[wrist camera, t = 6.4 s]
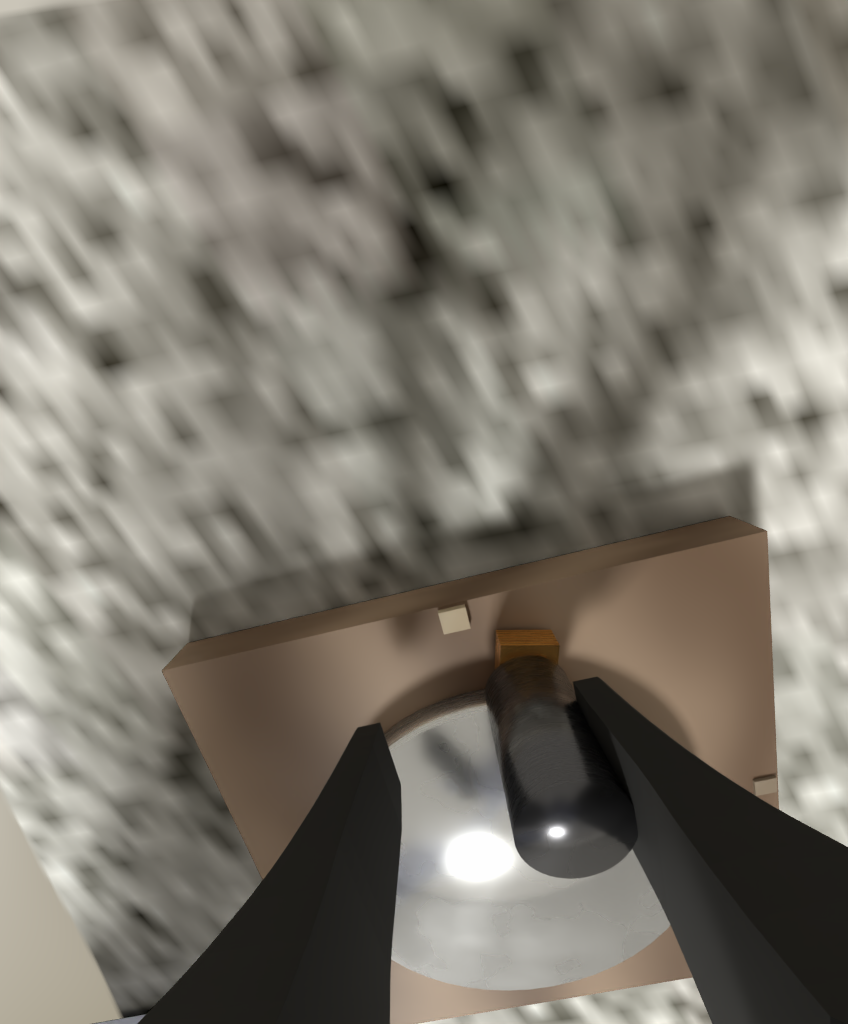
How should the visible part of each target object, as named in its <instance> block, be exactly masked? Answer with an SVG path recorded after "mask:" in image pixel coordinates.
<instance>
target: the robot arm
mask: <svg viewBox="0 0 848 1024" xmlns="http://www.w3.org/2000/svg"><path fill="white" fill-rule="evenodd" d="M573 685H574V690H575V696H576V700H577V702H578V704H579V706H580V708H581V710H582V712H583V714H584V716H585V718H586V720H587V722H588V724H589V726H590V728H591V730H592V732H593V734H594V736H595V737H596V739H597V741H598V743H599V744H600V746H601V748H602V750H603V752H604V753H605V755H606V757H607V759H608V761H609V762H610V764H611V766H612V768H613V769H614V771H615V773H616V775H617V777H618V779H619V780H620V782H621V784H622V786H623V788H624V790H625V791H626V793H627V795H628V797H629V799H630V801H631V803H632V804H633V806H634V809H635V816H636V822H637V829H638V838H637V840H636V843H635V845H634V846H633V848H632V849H633V851H634V853H635V855H636V857H637V859H638V861H639V863H640V865H641V867H642V869H643V871H644V873H645V874H646V876H647V878H648V880H649V882H650V884H651V886H652V888H653V890H654V892H655V894H656V896H657V898H658V900H659V902H660V904H661V906H662V908H663V910H664V912H665V914H666V917H667V919H668V921H669V923H670V925H671V927H672V930H673V932H674V934H675V937H676V939H677V941H678V944H679V946H680V948H681V951H682V953H683V955H684V958H685V960H686V962H687V965H688V967H689V969H690V972H691V974H692V976H693V979H694V981H695V983H696V986H697V988H698V990H699V993H700V995H701V998H702V1000H703V1002H704V1005H705V1007H706V1009H707V1012H708V1014H709V1017H710V1019H711V1021H712V1024H848V847H846V846H845V845H843V844H841V843H839V842H837V841H835V840H833V839H832V838H830V837H828V836H826V835H824V834H822V833H820V832H819V831H817V830H815V829H813V828H811V827H809V826H807V825H806V824H804V823H802V822H800V821H798V820H796V819H794V818H793V817H791V816H789V815H787V814H786V813H784V812H782V811H780V810H779V809H777V808H775V807H774V806H772V805H770V804H769V803H767V802H765V801H764V800H762V799H760V798H759V797H757V796H755V795H754V794H752V793H751V792H749V791H747V790H746V789H744V788H743V787H741V786H739V785H738V784H736V783H735V782H733V781H732V780H730V779H729V778H727V777H726V776H724V775H723V774H721V773H720V772H718V771H717V770H715V769H714V768H712V767H711V766H709V765H708V764H707V763H705V762H704V761H702V760H701V759H700V758H698V757H697V756H695V755H694V754H693V753H691V752H690V751H688V750H687V749H686V748H684V747H683V746H682V745H680V744H679V743H678V742H676V741H675V740H674V739H672V738H671V737H670V736H668V735H667V734H666V733H665V732H663V731H662V730H661V729H659V728H658V727H657V726H656V725H654V724H653V723H652V722H651V721H649V720H648V719H647V718H646V717H644V716H643V715H642V714H641V713H640V712H638V711H637V710H636V709H635V708H634V707H632V706H631V705H630V704H629V703H628V702H627V701H625V700H624V699H623V698H622V697H621V696H620V695H619V694H618V693H616V692H615V691H614V690H613V689H612V688H611V687H610V686H609V685H608V684H606V683H605V682H604V681H603V680H602V679H601V678H599V677H592V678H588V679H583V680H578V681H574V682H573ZM401 835H402V802H401V783H400V780H399V777H398V774H397V771H396V768H395V765H394V762H393V759H392V756H391V753H390V750H389V747H388V744H387V741H386V738H385V735H384V732H383V729H382V726H381V723H376V724H371V725H367V726H362V727H358V728H357V729H356V731H355V732H354V734H353V736H352V738H351V739H350V741H349V743H348V745H347V747H346V748H345V750H344V752H343V754H342V756H341V758H340V759H339V761H338V763H337V765H336V767H335V768H334V770H333V772H332V774H331V776H330V777H329V779H328V781H327V782H326V784H325V786H324V788H323V789H322V791H321V793H320V794H319V796H318V798H317V799H316V801H315V803H314V805H313V806H312V808H311V809H310V811H309V813H308V814H307V816H306V817H305V819H304V820H303V822H302V824H301V825H300V827H299V828H298V830H297V831H296V833H295V834H294V836H293V838H292V839H291V841H290V842H289V844H288V845H287V847H286V848H285V850H284V851H283V853H282V854H281V855H280V857H279V858H278V860H277V861H276V863H275V864H274V865H273V867H272V868H271V870H270V871H269V872H268V874H267V875H266V876H265V878H264V879H263V880H262V882H261V883H260V885H259V886H258V887H257V889H256V890H255V891H254V893H253V894H252V895H251V896H250V898H249V899H248V900H247V901H246V903H245V904H244V905H243V906H242V908H241V909H240V910H239V911H238V912H237V914H236V915H235V916H234V917H233V918H232V920H231V921H230V922H229V923H228V924H227V926H226V927H225V928H224V929H223V930H222V932H221V933H220V934H219V935H218V936H217V938H216V939H215V940H214V941H213V942H212V944H211V945H210V946H209V947H208V948H207V949H206V951H205V952H204V953H203V954H202V955H201V956H200V957H199V958H198V960H197V961H196V962H195V963H194V964H193V965H192V966H191V967H190V968H189V970H188V971H187V972H186V973H185V974H184V975H183V976H182V977H181V978H180V979H179V981H178V982H177V983H176V984H175V985H174V986H173V987H172V988H171V989H170V990H169V991H168V992H167V993H166V994H165V995H164V996H163V997H162V999H161V1000H160V1001H159V1002H158V1003H157V1004H156V1005H155V1006H154V1007H153V1008H152V1009H151V1010H150V1011H149V1012H148V1013H147V1014H144V1015H139V1016H133V1017H127V1018H122V1019H116V1020H110V1021H105V1022H99V1023H94V1024H390V979H391V956H392V940H393V928H394V917H395V906H396V894H397V883H398V871H399V859H400V847H401Z"/></svg>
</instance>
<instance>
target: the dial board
mask: <svg viewBox="0 0 848 1024" xmlns="http://www.w3.org/2000/svg"><path fill="white" fill-rule="evenodd" d="M496 630H552V632H553V634H554V636H555V638H556V639H557V641H558V643H559V645H560V647H559V659H558V665H559V666H560V667H561V668H562V669H563V670H564V672H565V673H566V675H567V677H568V679H569V681H570V683H571V685H572V687H573V688H574V685H573V682H574V681H578V680H583V679H588V678H592V677H599V678H601V679H602V680H603V681H604V682H605V683H606V684H608V685H609V686H610V687H611V688H612V689H613V690H614V691H615V692H616V693H618V694H619V695H620V696H621V697H622V698H623V699H624V700H625V701H627V702H628V703H629V704H630V705H631V706H632V707H634V708H635V709H636V710H637V711H638V712H640V713H641V714H642V715H643V716H644V717H646V718H647V719H648V720H649V721H651V722H652V723H653V724H654V725H656V726H657V727H658V728H659V729H661V730H662V731H663V732H665V733H666V734H667V735H668V736H670V737H671V738H672V739H674V740H675V741H676V742H678V743H679V744H680V745H682V746H683V747H684V748H686V749H687V750H688V751H690V752H691V753H693V754H694V755H695V756H697V757H698V758H700V759H701V760H702V761H704V762H705V763H707V764H708V765H709V766H711V767H712V768H714V769H715V770H717V771H718V772H720V773H721V774H723V775H724V776H726V777H727V778H729V779H730V780H732V781H733V782H735V783H736V784H738V785H739V786H741V787H743V788H744V789H746V790H747V791H749V792H751V793H752V794H754V795H755V796H757V797H759V798H760V799H762V800H764V801H765V802H767V803H769V804H770V805H772V806H774V807H775V808H777V809H779V801H778V777H777V753H776V729H775V706H774V682H773V658H772V635H771V611H770V587H769V563H768V540H767V531H766V530H763V529H761V528H758V527H756V526H753V525H751V524H748V523H746V522H743V521H741V520H738V519H736V518H733V517H731V516H728V517H724V518H719V519H715V520H711V521H707V522H702V523H698V524H694V525H689V526H685V527H681V528H677V529H672V530H668V531H664V532H660V533H655V534H651V535H647V536H643V537H638V538H634V539H630V540H625V541H621V542H617V543H613V544H608V545H604V546H600V547H596V548H591V549H587V550H583V551H579V552H574V553H570V554H566V555H561V556H557V557H553V558H549V559H544V560H540V561H536V562H532V563H527V564H523V565H519V566H514V567H510V568H506V569H502V570H497V571H493V572H489V573H485V574H480V575H476V576H472V577H468V578H463V579H459V580H455V581H450V582H446V583H442V584H438V585H433V586H429V587H425V588H421V589H416V590H412V591H408V592H404V593H399V594H395V595H391V596H386V597H382V598H378V599H374V600H369V601H365V602H361V603H357V604H352V605H348V606H344V607H339V608H335V609H331V610H327V611H322V612H318V613H314V614H310V615H305V616H301V617H297V618H293V619H288V620H284V621H280V622H275V623H271V624H267V625H263V626H258V627H254V628H250V629H246V630H241V631H237V632H233V633H229V634H224V635H220V636H216V637H211V638H207V639H203V640H199V641H194V642H190V643H187V644H186V645H185V646H184V648H183V649H182V650H181V651H180V652H179V653H178V654H177V655H176V656H175V657H174V658H173V659H172V660H171V661H170V662H169V664H168V665H167V666H166V667H165V668H164V669H163V670H162V673H163V675H164V677H165V679H166V681H167V683H168V685H169V687H170V689H171V691H172V693H173V695H174V698H175V700H176V702H177V704H178V706H179V708H180V710H181V712H182V714H183V716H184V718H185V720H186V722H187V724H188V726H189V729H190V731H191V733H192V735H193V737H194V739H195V741H196V743H197V745H198V747H199V749H200V751H201V753H202V755H203V757H204V760H205V762H206V764H207V766H208V768H209V770H210V772H211V774H212V776H213V778H214V780H215V782H216V784H217V786H218V788H219V791H220V793H221V795H222V797H223V799H224V801H225V803H226V805H227V807H228V809H229V811H230V813H231V815H232V817H233V819H234V822H235V824H236V826H237V828H238V830H239V832H240V834H241V836H242V838H243V840H244V842H245V844H246V846H247V848H248V850H249V853H250V855H251V857H252V859H253V861H254V863H255V865H256V867H257V869H258V871H259V873H260V875H261V877H262V879H264V878H265V876H266V875H267V874H268V872H269V871H270V870H271V868H272V867H273V865H274V864H275V863H276V861H277V860H278V858H279V857H280V855H281V854H282V853H283V851H284V850H285V848H286V847H287V845H288V844H289V842H290V841H291V839H292V838H293V836H294V834H295V833H296V831H297V830H298V828H299V827H300V825H301V824H302V822H303V820H304V819H305V817H306V816H307V814H308V813H309V811H310V809H311V808H312V806H313V805H314V803H315V801H316V799H317V798H318V796H319V794H320V793H321V791H322V789H323V788H324V786H325V784H326V782H327V781H328V779H329V777H330V776H331V774H332V772H333V770H334V768H335V767H336V765H337V763H338V761H339V759H340V758H341V756H342V754H343V752H344V750H345V748H346V747H347V745H348V743H349V741H350V739H351V738H352V736H353V734H354V732H355V731H356V729H357V728H358V727H362V726H367V725H371V724H376V723H381V726H382V729H383V732H384V733H386V732H387V731H388V730H389V729H391V728H392V727H393V726H395V725H396V724H397V723H399V722H400V721H401V720H403V719H405V718H407V717H408V716H410V715H412V714H413V713H415V712H417V711H419V710H420V709H422V708H425V707H427V706H429V705H432V704H434V703H436V702H439V701H441V700H443V699H446V698H449V697H453V696H456V695H459V694H463V693H466V692H470V691H476V690H481V689H485V687H486V683H487V681H488V679H489V677H490V675H491V674H492V673H493V672H494V670H495V644H496ZM691 977H693V976H692V974H691V972H690V969H689V967H688V965H687V962H686V960H685V958H684V955H683V953H682V951H681V948H680V946H679V944H678V941H677V939H676V937H675V934H674V932H673V930H672V927H671V925H670V926H669V927H668V928H667V930H666V931H664V932H663V933H662V934H661V935H660V936H659V937H658V938H656V939H655V940H654V941H653V942H652V943H651V944H649V945H648V946H646V947H645V948H644V949H642V950H641V951H639V952H638V953H636V954H635V955H634V956H632V957H630V958H628V959H626V960H625V961H623V962H621V963H619V964H617V965H616V966H613V967H611V968H609V969H607V970H604V971H602V972H600V973H597V974H595V975H592V976H589V977H586V978H583V979H580V980H577V981H573V982H569V983H565V984H560V985H556V986H551V987H544V988H537V989H528V990H510V991H509V990H485V989H477V988H469V987H463V986H458V985H454V984H449V983H445V982H442V981H438V980H435V979H432V978H429V977H426V976H424V975H421V974H419V973H417V972H414V971H412V970H410V969H407V968H406V967H404V966H402V965H400V964H399V963H397V962H395V961H393V960H392V959H391V979H390V1024H418V1023H424V1022H430V1021H436V1020H441V1019H447V1018H453V1017H459V1016H465V1015H471V1014H477V1013H483V1012H489V1011H495V1010H501V1009H507V1008H513V1007H519V1006H525V1005H531V1004H537V1003H542V1002H548V1001H554V1000H560V999H566V998H572V997H578V996H584V995H590V994H596V993H602V992H608V991H614V990H620V989H626V988H632V987H638V986H644V985H649V984H655V983H661V982H667V981H673V980H679V979H685V978H691Z"/></svg>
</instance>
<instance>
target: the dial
mask: <svg viewBox="0 0 848 1024" xmlns="http://www.w3.org/2000/svg"><path fill="white" fill-rule="evenodd" d="M559 647H560V645H559V643H558V641H557V639H556V638H555V636H554V634H553V632H552V630H496V644H495V670H494V672H493V673H492V674H491V675H490V677H489V679H488V681H487V683H486V687H485V689H481V690H476V691H470V692H466V693H463V694H459V695H456V696H453V697H449V698H446V699H443V700H441V701H439V702H436V703H434V704H432V705H429V706H427V707H425V708H422V709H420V710H419V711H417V712H415V713H413V714H412V715H410V716H408V717H407V718H405V719H403V720H401V721H400V722H399V723H397V724H396V725H395V726H393V727H392V728H391V729H389V730H388V731H387V732H386V733H384V735H385V738H386V741H387V744H388V747H389V750H390V753H391V756H392V759H393V762H394V765H395V768H396V771H397V774H398V777H399V780H400V783H401V802H402V835H401V847H400V859H399V871H398V883H397V894H396V906H395V917H394V928H393V940H392V956H391V959H392V960H393V961H395V962H397V963H399V964H400V965H402V966H404V967H406V968H407V969H410V970H412V971H414V972H417V973H419V974H421V975H424V976H426V977H429V978H432V979H435V980H438V981H442V982H445V983H449V984H454V985H458V986H463V987H469V988H477V989H485V990H509V991H510V990H528V989H537V988H544V987H551V986H556V985H560V984H565V983H569V982H573V981H577V980H580V979H583V978H586V977H589V976H592V975H595V974H597V973H600V972H602V971H604V970H607V969H609V968H611V967H613V966H616V965H617V964H619V963H621V962H623V961H625V960H626V959H628V958H630V957H632V956H634V955H635V954H636V953H638V952H639V951H641V950H642V949H644V948H645V947H646V946H648V945H649V944H651V943H652V942H653V941H654V940H655V939H656V938H658V937H659V936H660V935H661V934H662V933H663V932H664V931H666V930H667V928H668V927H669V926H670V923H669V921H668V919H667V917H666V914H665V912H664V910H663V908H662V906H661V904H660V902H659V900H658V898H657V896H656V894H655V892H654V890H653V888H652V886H651V884H650V882H649V880H648V878H647V876H646V874H645V873H644V871H643V869H642V867H641V865H640V863H639V861H638V859H637V857H636V855H635V853H634V851H633V849H632V848H633V846H634V845H635V843H636V840H637V838H638V829H637V822H636V816H635V809H634V806H633V804H632V803H631V801H630V799H629V797H628V795H627V793H626V791H625V790H624V788H623V786H622V784H621V782H620V780H619V779H618V777H617V775H616V773H615V771H614V769H613V768H612V766H611V764H610V762H609V761H608V759H607V757H606V755H605V753H604V752H603V750H602V748H601V746H600V744H599V743H598V741H597V739H596V737H595V736H594V734H593V732H592V730H591V728H590V726H589V724H588V722H587V720H586V718H585V716H584V714H583V712H582V710H581V708H580V706H579V704H578V702H577V700H576V696H575V690H574V688H573V687H572V685H571V683H570V681H569V679H568V677H567V675H566V673H565V672H564V670H563V669H562V668H561V667H560V666H559V665H558V659H559Z"/></svg>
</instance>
